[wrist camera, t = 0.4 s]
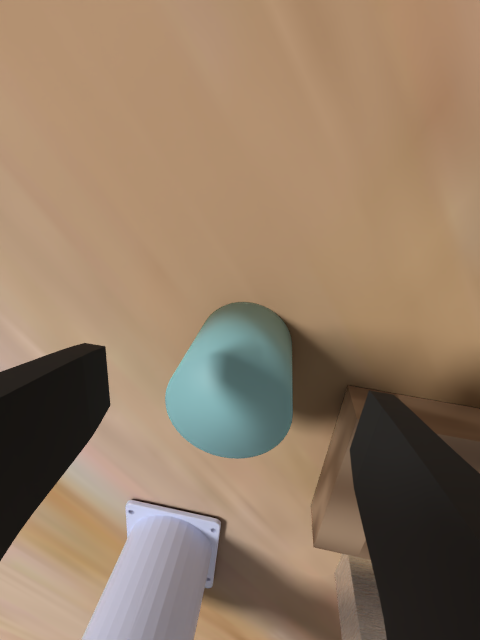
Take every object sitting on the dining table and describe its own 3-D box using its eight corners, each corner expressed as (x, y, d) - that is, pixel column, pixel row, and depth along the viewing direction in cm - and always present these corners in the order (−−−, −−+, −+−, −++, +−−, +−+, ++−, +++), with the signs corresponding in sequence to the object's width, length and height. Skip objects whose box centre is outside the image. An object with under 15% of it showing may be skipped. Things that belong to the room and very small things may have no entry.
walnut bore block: (464, 537, 23) (487, 585, 20) (310, 505, 24) (313, 547, 21) (541, 419, 18) (585, 461, 16) (347, 385, 19) (357, 419, 16)
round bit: (283, 391, 20) (280, 468, 15) (197, 375, 21) (164, 445, 15) (300, 310, 18) (304, 367, 12) (203, 295, 18) (166, 343, 13)
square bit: (383, 583, 26) (407, 688, 21) (334, 572, 27) (345, 672, 21) (398, 554, 25) (429, 660, 19) (346, 543, 25) (361, 644, 20)
